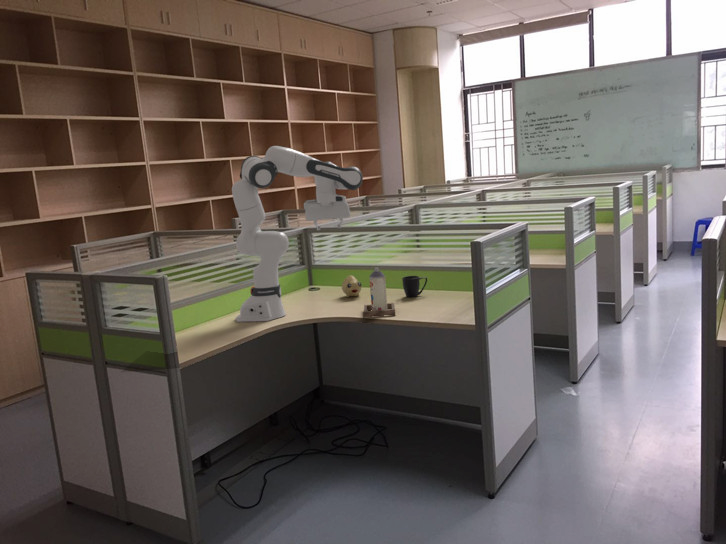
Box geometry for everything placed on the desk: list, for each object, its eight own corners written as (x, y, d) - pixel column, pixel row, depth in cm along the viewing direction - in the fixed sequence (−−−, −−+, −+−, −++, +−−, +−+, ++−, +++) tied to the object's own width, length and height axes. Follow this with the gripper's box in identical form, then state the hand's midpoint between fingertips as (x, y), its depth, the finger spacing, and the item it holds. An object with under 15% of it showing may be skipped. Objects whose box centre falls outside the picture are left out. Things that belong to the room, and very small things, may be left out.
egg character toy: (346, 300, 302) (344, 278, 300) (340, 295, 313) (338, 275, 311) (365, 297, 304) (363, 276, 303) (359, 293, 316) (357, 272, 314)
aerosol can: (372, 311, 274) (368, 267, 270) (387, 310, 273) (384, 266, 270) (372, 315, 267) (368, 269, 264) (387, 314, 267) (384, 268, 263)
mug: (429, 296, 294) (428, 277, 293) (404, 299, 294) (403, 279, 292) (426, 293, 302) (425, 274, 301) (402, 295, 302) (401, 276, 300)
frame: (364, 317, 264) (363, 311, 263) (364, 310, 277) (364, 305, 276) (395, 315, 263) (395, 309, 263) (394, 308, 276) (393, 302, 276)
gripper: (302, 200, 273) (305, 231, 275) (348, 197, 272) (351, 228, 275) (304, 200, 279) (307, 230, 281) (348, 196, 279) (351, 226, 281)
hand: (329, 229), depth 278 cm, fingers open, 8 cm apart
